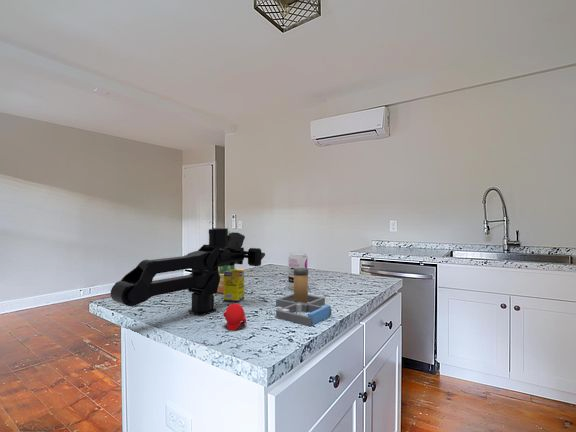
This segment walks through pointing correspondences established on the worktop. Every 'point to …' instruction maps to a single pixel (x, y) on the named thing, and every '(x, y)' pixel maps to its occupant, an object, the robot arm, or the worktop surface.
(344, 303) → the worktop surface
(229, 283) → the supplement box
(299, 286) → the vitamin jar
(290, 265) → the supplement can
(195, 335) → the worktop surface
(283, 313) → the divided tray
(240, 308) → the red lumpy figurine
